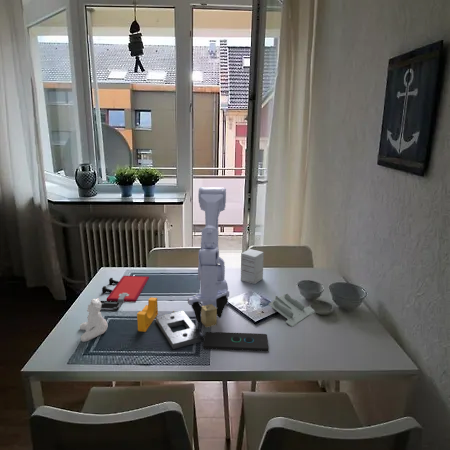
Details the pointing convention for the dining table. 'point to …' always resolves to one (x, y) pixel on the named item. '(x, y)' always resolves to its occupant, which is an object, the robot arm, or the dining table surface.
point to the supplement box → (252, 266)
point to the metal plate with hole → (179, 337)
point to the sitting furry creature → (93, 322)
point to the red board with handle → (123, 291)
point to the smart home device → (235, 341)
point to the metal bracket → (291, 309)
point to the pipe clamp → (147, 314)
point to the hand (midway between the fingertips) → (208, 318)
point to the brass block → (209, 315)
